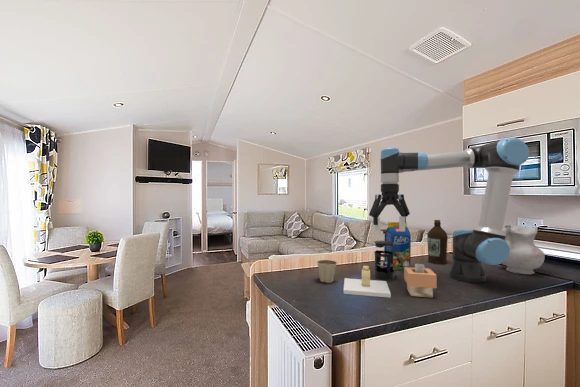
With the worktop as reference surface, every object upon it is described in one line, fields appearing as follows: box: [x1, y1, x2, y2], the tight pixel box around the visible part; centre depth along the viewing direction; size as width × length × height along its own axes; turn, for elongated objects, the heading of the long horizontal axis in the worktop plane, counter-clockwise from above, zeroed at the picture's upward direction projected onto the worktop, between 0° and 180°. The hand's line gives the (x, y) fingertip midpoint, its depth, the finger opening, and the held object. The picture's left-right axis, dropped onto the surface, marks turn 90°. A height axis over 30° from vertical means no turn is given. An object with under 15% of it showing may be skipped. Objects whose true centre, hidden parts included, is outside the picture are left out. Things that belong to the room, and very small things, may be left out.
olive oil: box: [426, 219, 449, 265], centre depth 165 cm, size 11×11×25 cm
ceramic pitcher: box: [501, 224, 546, 276], centre depth 146 cm, size 22×20×25 cm
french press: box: [373, 228, 395, 281], centre depth 135 cm, size 12×9×23 cm
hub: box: [343, 265, 392, 299], centre depth 118 cm, size 18×16×10 cm
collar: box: [403, 266, 438, 289], centre depth 113 cm, size 10×10×5 cm
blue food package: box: [383, 221, 412, 271], centre depth 151 cm, size 6×12×25 cm, turn 106°
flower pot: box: [316, 259, 338, 284], centre depth 128 cm, size 9×9×9 cm
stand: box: [406, 263, 434, 299], centre depth 113 cm, size 8×8×12 cm
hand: (389, 231), depth 122 cm, fingers open, 13 cm apart
